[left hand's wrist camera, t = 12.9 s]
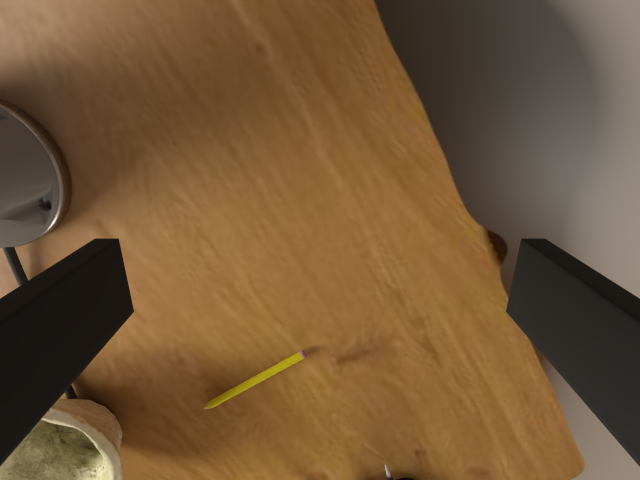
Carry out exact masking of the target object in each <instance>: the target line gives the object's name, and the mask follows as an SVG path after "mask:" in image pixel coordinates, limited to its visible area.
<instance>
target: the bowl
mask: <svg viewBox="0 0 640 480" xmlns="http://www.w3.org/2000/svg"><path fill="white" fill-rule="evenodd" d="M121 442H122V429H121V426H120V424H119V422H118V421H117V420H116V417H115V416H114V414H112V413H111V412H110V411H109V410H108V409H107V408H106V407H105V406H102V405H100V404H97V403H95V402H94V401H91V400H86V399H85V400H83V399H62V400H57V401H56V403H55V404H54V405H53V406H52V407H51V408H50V409H49V411H48V412H47V413H46V414H45V415H44V416H43V418H42V419H41V420H40V421H39V422H38V423H37V425H36V426H35V427H34V428H33V429H32V430H31V431H30V433H29V434H28V435H27V436H26V437H25V438H24V440H23V441H22V442H21V443H20V444H19V445H18V447H17V448H16V449H15V450H14V451H13V452H12V453H11V455H10V456H9V457H8V458H7V459H6V460H5V462H4V463H3V464H2V465H1V466H0V480H122V478H123V468H122V459H121V455H120V453H119V448H120V444H121Z"/></svg>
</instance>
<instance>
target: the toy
mask: <svg viewBox="0 0 640 480" xmlns="http://www.w3.org/2000/svg"><path fill="white" fill-rule="evenodd" d="M385 470H386V474H387V478H388V480H393V478H392V476H391V474H390V471H389V469H388V467H387V466H386V464H385ZM396 480H414V479H411V478H400V479H396Z"/></svg>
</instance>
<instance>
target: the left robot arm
mask: <svg viewBox="0 0 640 480" xmlns="http://www.w3.org/2000/svg"><path fill="white" fill-rule="evenodd" d="M70 198H71V181H70V175H69V171H68V168H67V165H66V162H65V160H64V158H63V156H62V153H61V152H60V150H59V148H58V146H57V145H56V143H55V142H54V141H53V139H52V138H51V137H50V135H49V134H48V133H47V132H46V131H45V130H44V129H43V127H42V126H41V125H39V124H38V123H37V122H36V121H35V120H34V119H33V118H31V117H30V116H29V115H27V114H26V113H25V112H23V111H22V110H20V109H18V108H16V107H15V106H13V105H11V104H9V103H6V102H4V101H1V100H0V248H3V250H4V252H5V255H6V257H7V260H8V262H9V264H10V267H11V269H12V271H13V273H14V275H15V278H16V280H17V282H18V284H19V287H18V288H16V289H15V290H13V291H12V292H10V293H9V294H7V295H5V296H4V297H2V298H1V299H0V466H1V465H2V464H3V463H4V462H5V460H6V459H7V458H8V457H9V456H10V455H11V453H12V452H13V451H14V450H15V449H16V448H17V447H18V445H19V444H20V443H21V442H22V441H23V440H24V438H25V437H26V436H27V435H28V434H29V433H30V431H31V430H32V429H33V428H34V427H35V426H36V425H37V423H38V422H39V421H40V420H41V419H42V418H43V416H44V415H45V414H46V413H47V412H48V411H49V409H50V408H51V407H52V406H53V405H54V404H55V403H56V401H57V400H58V399H59V398H60V397H61V396H62V394H63V393H64V392H65V394H66V396H67V398H68V399H77V396H76V394H75V392H74V390H73V387H72V385H71V384H72V383H73V382H74V381H75V379H76V378H77V377H78V376H79V375H80V374H81V372H82V371H83V370H84V369H85V368H86V367H87V365H88V364H89V363H90V362H91V361H92V360H93V359H94V357H95V356H96V355H97V354H98V353H99V352H100V350H101V349H102V348H103V347H104V346H105V345H106V343H107V342H108V341H109V340H110V339H111V338H112V337H113V335H114V334H115V333H116V332H117V331H118V330H119V328H120V327H121V326H122V325H123V324H124V323H125V321H126V320H127V319H128V318H129V317H130V316H131V314H132V313H133V312H134V309H133V305H132V300H131V295H130V290H129V286H128V281H127V276H126V271H125V267H124V262H123V257H122V252H121V248H120V243H119V239H94V240H92V241H91V242H89V243H87V244H86V245H84V246H83V247H81V248H80V249H78V250H76V251H75V252H73V253H72V254H70V255H69V256H67V257H65V258H64V259H62V260H61V261H59V262H58V263H56V264H54V265H53V266H51V267H50V268H48V269H46V270H45V271H43V272H42V273H40V274H39V275H37V276H35V277H34V278H32V279H31V280H29V281H28V279H27V277H26V275H25V272H24V270H23V268H22V266H21V263H20V261H19V258H18V256H17V253H16V251H15V248H14V246H20V245H24V244H27V243H30V242H32V241H34V240H36V239H38V238H40V237H42V236H44V235H46V234H48V233H49V232H51V231H52V230H53V229H55V228H56V227H57V226H58V225H59V224H60V222H61V221H62V220H63V218H64V216H65V215H66V213H67V210H68V207H69V204H70ZM506 312H507V313H508V314H509V316H510V317H511V318H512V319H513V320H514V321H515V323H516V324H517V325H518V326H519V327H520V328H521V330H522V331H523V332H524V333H525V334H526V335H527V337H528V338H529V339H530V340H531V341H532V342H533V343H534V345H535V346H536V347H537V348H538V349H539V350H540V352H541V353H542V354H543V355H544V356H545V357H546V359H547V360H548V361H549V362H550V363H551V364H552V365H553V367H554V368H555V369H556V370H557V371H558V372H559V374H560V375H561V376H562V377H563V378H564V379H565V381H566V382H567V383H568V384H569V385H570V386H571V387H572V389H573V390H574V391H575V392H576V393H577V394H578V396H579V397H580V398H581V399H582V400H583V401H584V402H585V404H586V405H587V406H588V407H589V408H590V409H591V411H592V412H593V413H594V414H595V415H596V416H597V418H598V419H599V420H600V421H601V422H602V423H603V425H604V426H605V427H606V428H607V429H608V430H609V431H610V433H611V434H612V435H613V436H614V437H615V438H616V440H617V441H618V442H619V443H620V444H621V445H622V446H623V448H624V449H625V450H626V451H627V452H628V453H629V455H630V456H631V457H632V458H633V459H634V460H635V462H636V463H637V464H638V465H639V466H640V299H639V298H638V297H636V296H635V295H633V294H631V293H630V292H628V291H627V290H625V289H623V288H622V287H620V286H619V285H617V284H616V283H614V282H612V281H611V280H609V279H608V278H606V277H605V276H603V275H601V274H600V273H598V272H597V271H595V270H593V269H592V268H590V267H589V266H587V265H586V264H584V263H582V262H581V261H579V260H578V259H576V258H575V257H573V256H571V255H570V254H568V253H567V252H565V251H563V250H562V249H560V248H559V247H557V246H556V245H554V244H553V243H551V242H549V241H548V240H546V239H521V243H520V248H519V252H518V257H517V262H516V267H515V271H514V276H513V281H512V286H511V291H510V295H509V300H508V305H507V309H506Z"/></svg>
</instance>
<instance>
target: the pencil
mask: <svg viewBox="0 0 640 480" xmlns="http://www.w3.org/2000/svg"><path fill="white" fill-rule="evenodd" d="M304 358H306V354H305V352H304V351H303V350H302V351H300V352H298V353H296V354H294V355H293V356H291V357H289V358H287V359H285V360H283V361H281V362H280V363H278V364H276V365H274V366H272V367H270V368H269V369H267V370H265V371H263V372H261V373H259V374H258V375H256V376H254V377H252V378H250V379H248V380H247V381H245V382H243V383H241V384H239V385H237V386H236V387H234V388H232V389H230V390H228V391H226V392H225V393H223V394H221V395H219V396H217V397H215V398H214V399H212V400H210V401H208V403H207V404H206V405H205V406H204V407H203V408H202V409H209V408H213V407H215V406H217V405H218V404H220V403H222V402H224V401H226V400H228V399H230V398H231V397H233V396H235V395H237V394H239V393H241V392H243V391H244V390H246V389H248V388H250V387H252V386H254V385H256V384H257V383H259V382H261V381H263V380H265V379H267V378H269V377H270V376H272V375H274V374H276V373H278V372H280V371H282V370H283V369H285V368H287V367H289V366H291V365H293V364H295V363H296V362H298V361H300V360H302V359H304Z"/></svg>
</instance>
